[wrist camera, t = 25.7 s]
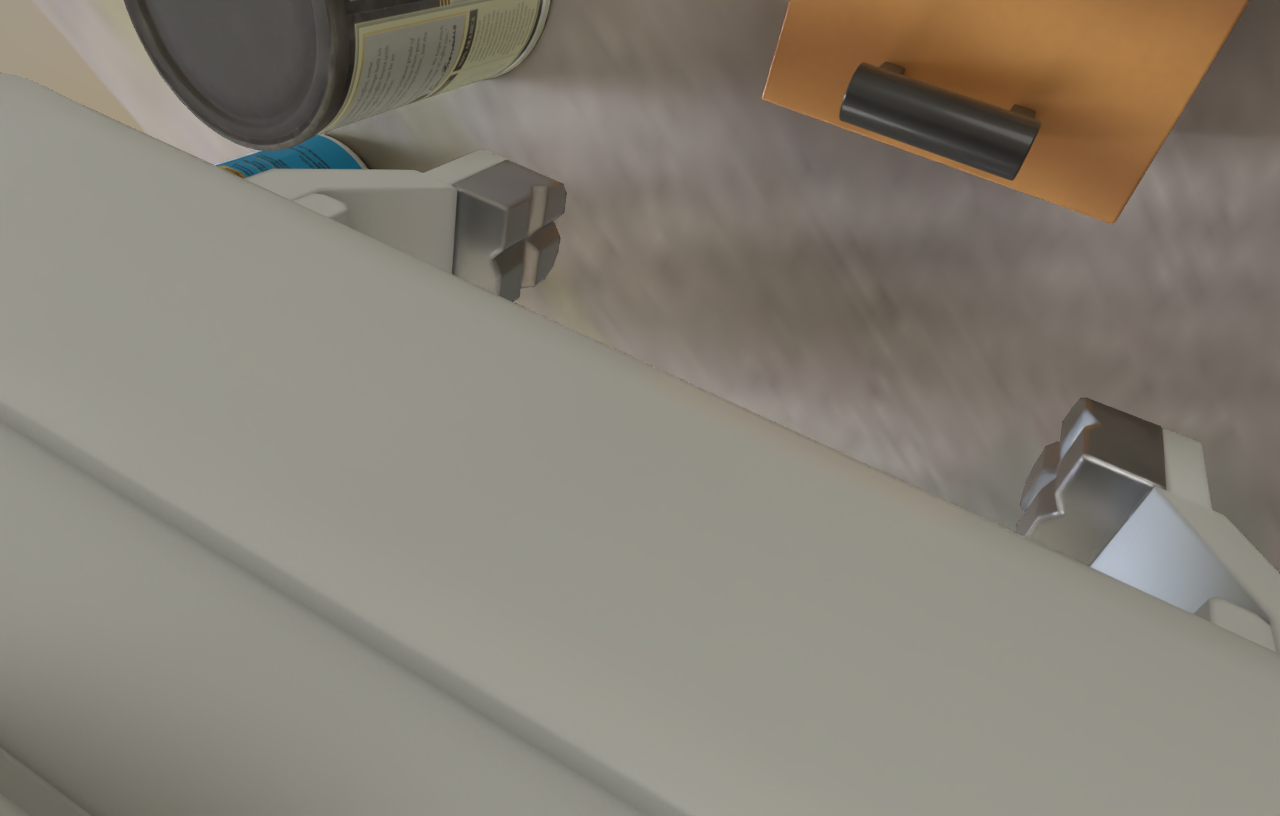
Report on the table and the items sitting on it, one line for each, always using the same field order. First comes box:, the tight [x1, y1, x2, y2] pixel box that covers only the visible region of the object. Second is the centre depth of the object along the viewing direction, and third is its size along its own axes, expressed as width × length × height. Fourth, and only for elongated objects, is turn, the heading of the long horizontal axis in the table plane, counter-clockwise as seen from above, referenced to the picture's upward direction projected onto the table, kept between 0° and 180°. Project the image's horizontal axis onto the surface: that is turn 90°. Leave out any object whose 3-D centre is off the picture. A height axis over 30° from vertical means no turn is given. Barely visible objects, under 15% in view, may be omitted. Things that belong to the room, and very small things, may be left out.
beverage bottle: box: [213, 134, 368, 179], centre depth 43 cm, size 8×8×20 cm
